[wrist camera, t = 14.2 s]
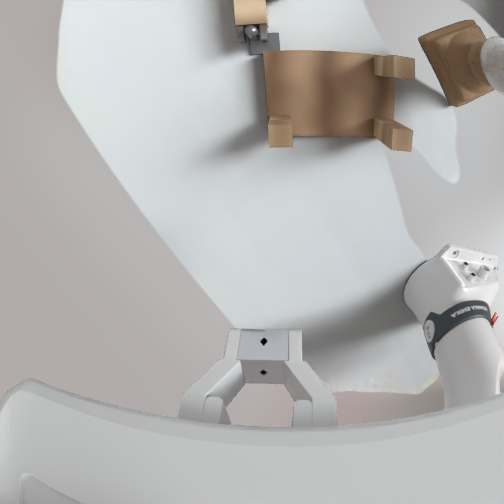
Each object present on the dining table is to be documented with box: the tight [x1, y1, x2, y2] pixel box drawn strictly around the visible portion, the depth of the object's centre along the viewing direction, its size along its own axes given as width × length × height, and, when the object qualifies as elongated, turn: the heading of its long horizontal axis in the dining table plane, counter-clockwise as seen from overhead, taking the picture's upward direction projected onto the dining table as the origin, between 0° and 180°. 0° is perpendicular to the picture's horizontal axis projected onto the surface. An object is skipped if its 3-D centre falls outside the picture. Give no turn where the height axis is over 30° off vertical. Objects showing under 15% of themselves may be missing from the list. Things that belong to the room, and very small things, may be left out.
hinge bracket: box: [244, 25, 280, 54], centre depth 28 cm, size 4×3×5 cm
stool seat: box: [263, 50, 415, 151], centre depth 29 cm, size 16×11×9 cm
